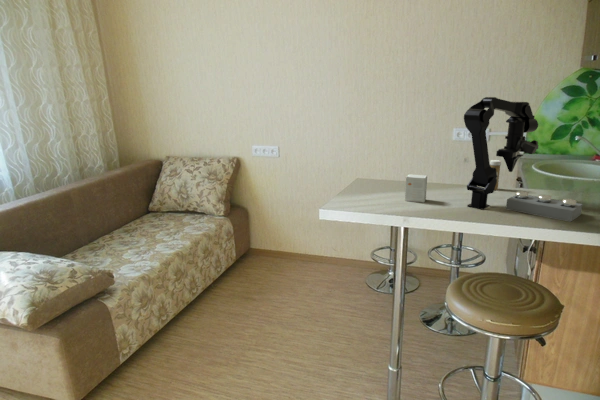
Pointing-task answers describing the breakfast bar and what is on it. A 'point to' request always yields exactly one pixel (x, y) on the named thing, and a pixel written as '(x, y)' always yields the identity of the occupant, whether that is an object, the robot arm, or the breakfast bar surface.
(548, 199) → the knob middle
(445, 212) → the breakfast bar surface
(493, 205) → the breakfast bar surface
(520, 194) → the knob left
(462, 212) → the breakfast bar surface
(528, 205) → the mount
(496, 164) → the sprinkles bottle
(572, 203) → the knob right
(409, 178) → the small box
